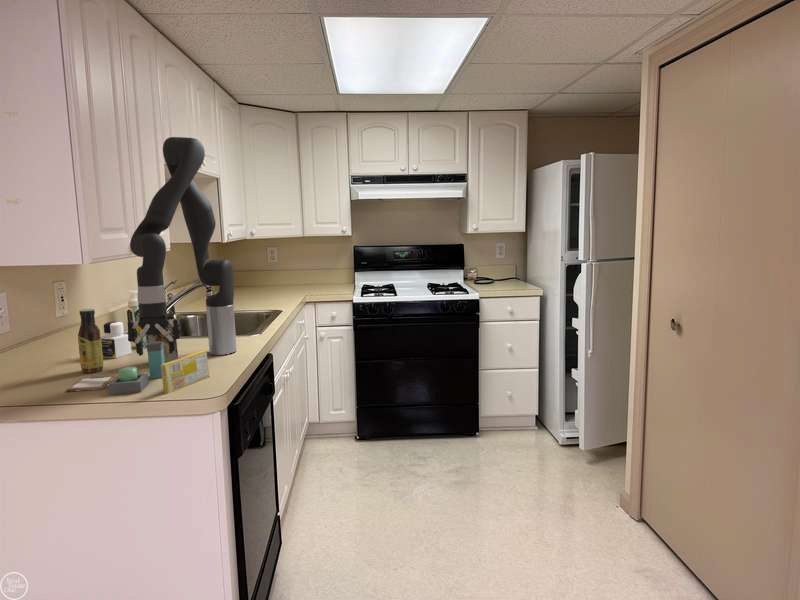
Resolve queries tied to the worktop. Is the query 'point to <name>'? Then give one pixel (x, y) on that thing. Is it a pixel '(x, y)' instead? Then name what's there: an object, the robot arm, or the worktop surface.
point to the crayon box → (139, 333)
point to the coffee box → (165, 341)
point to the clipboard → (91, 383)
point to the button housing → (128, 385)
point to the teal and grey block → (155, 358)
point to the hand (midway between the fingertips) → (156, 354)
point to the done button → (128, 374)
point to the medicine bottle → (115, 341)
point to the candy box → (184, 371)
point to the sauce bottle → (90, 343)
